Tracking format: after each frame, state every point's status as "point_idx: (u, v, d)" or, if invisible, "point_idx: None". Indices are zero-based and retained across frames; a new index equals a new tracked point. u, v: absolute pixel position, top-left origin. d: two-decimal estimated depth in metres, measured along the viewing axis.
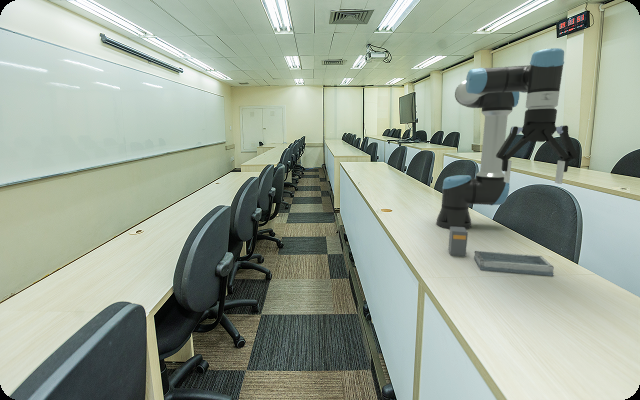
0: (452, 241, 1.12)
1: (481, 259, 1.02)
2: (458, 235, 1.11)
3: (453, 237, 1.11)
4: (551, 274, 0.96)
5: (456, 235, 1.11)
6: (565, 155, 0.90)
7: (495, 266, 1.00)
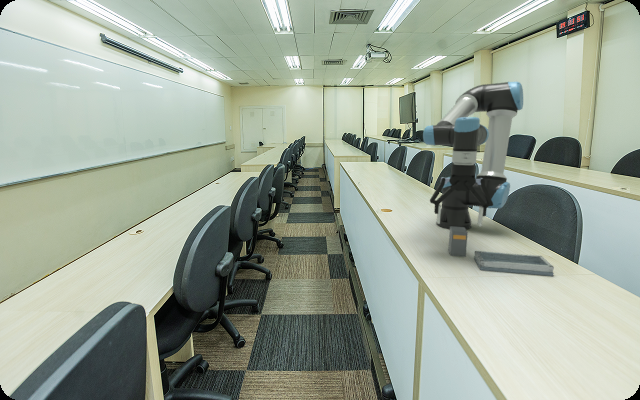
0: (452, 241, 1.12)
1: (481, 259, 1.02)
2: (458, 235, 1.11)
3: (453, 237, 1.11)
4: (551, 274, 0.96)
5: (456, 235, 1.11)
6: (483, 203, 1.08)
7: (495, 266, 1.00)
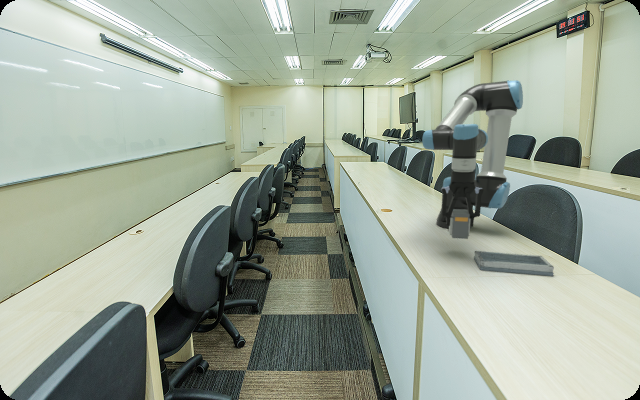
0: (454, 223, 1.11)
1: (481, 259, 1.02)
2: (460, 217, 1.10)
3: (455, 219, 1.11)
4: (551, 274, 0.96)
5: (458, 217, 1.10)
6: (472, 213, 1.10)
7: (495, 266, 1.00)
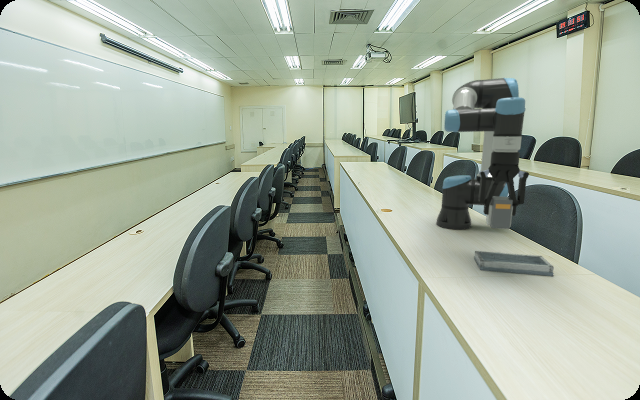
0: (494, 211, 0.98)
1: (481, 259, 1.02)
2: (501, 204, 0.97)
3: (495, 206, 0.98)
4: (551, 274, 0.96)
5: (499, 204, 0.97)
6: (514, 200, 0.98)
7: (495, 266, 1.00)
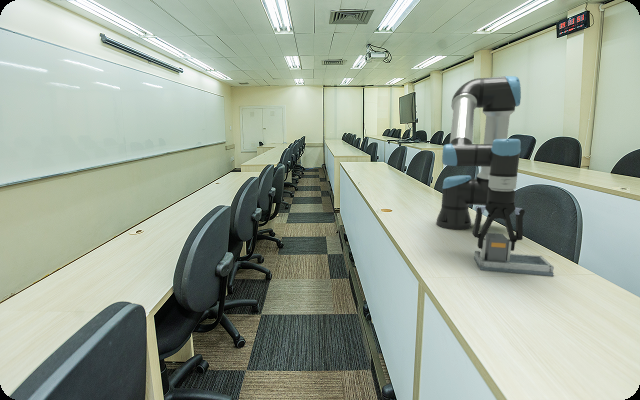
0: (490, 249, 1.01)
1: (481, 259, 1.02)
2: (497, 242, 1.00)
3: (491, 245, 1.00)
4: (551, 274, 0.96)
5: (494, 243, 1.00)
6: (513, 236, 1.00)
7: (495, 266, 1.00)
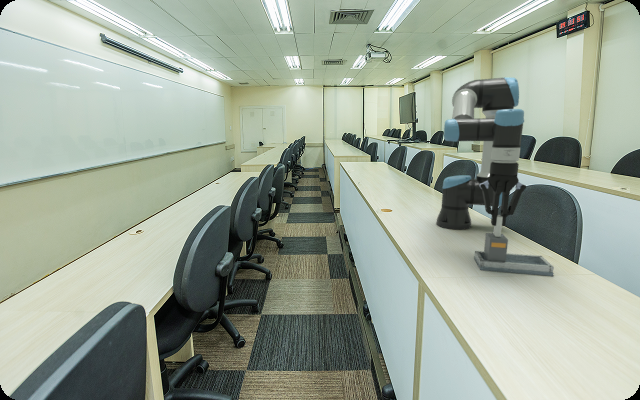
0: (490, 249, 1.01)
1: (481, 259, 1.02)
2: (497, 242, 1.00)
3: (491, 245, 1.00)
4: (551, 274, 0.96)
5: (494, 243, 1.00)
6: (505, 211, 0.99)
7: (495, 266, 1.00)
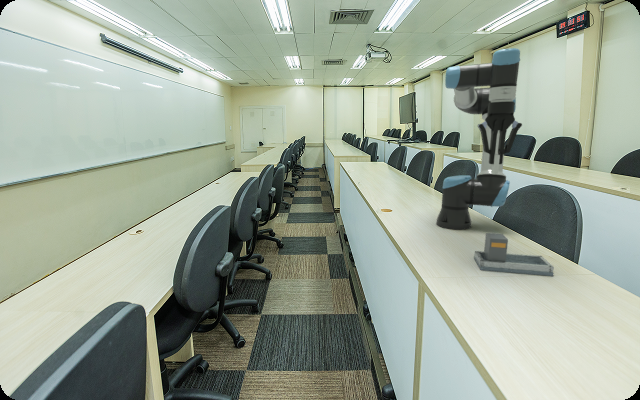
0: (490, 249, 1.01)
1: (481, 259, 1.02)
2: (497, 242, 1.00)
3: (491, 245, 1.00)
4: (551, 274, 0.96)
5: (494, 243, 1.00)
6: (502, 149, 1.05)
7: (495, 266, 1.00)
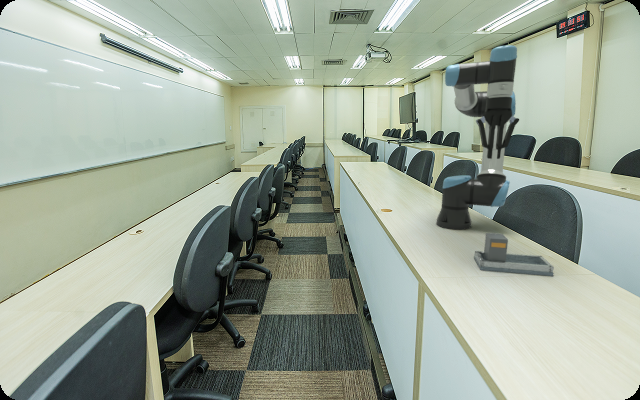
0: (490, 249, 1.01)
1: (481, 259, 1.02)
2: (497, 242, 1.00)
3: (491, 245, 1.00)
4: (551, 274, 0.96)
5: (494, 243, 1.00)
6: (500, 144, 1.07)
7: (495, 266, 1.00)
